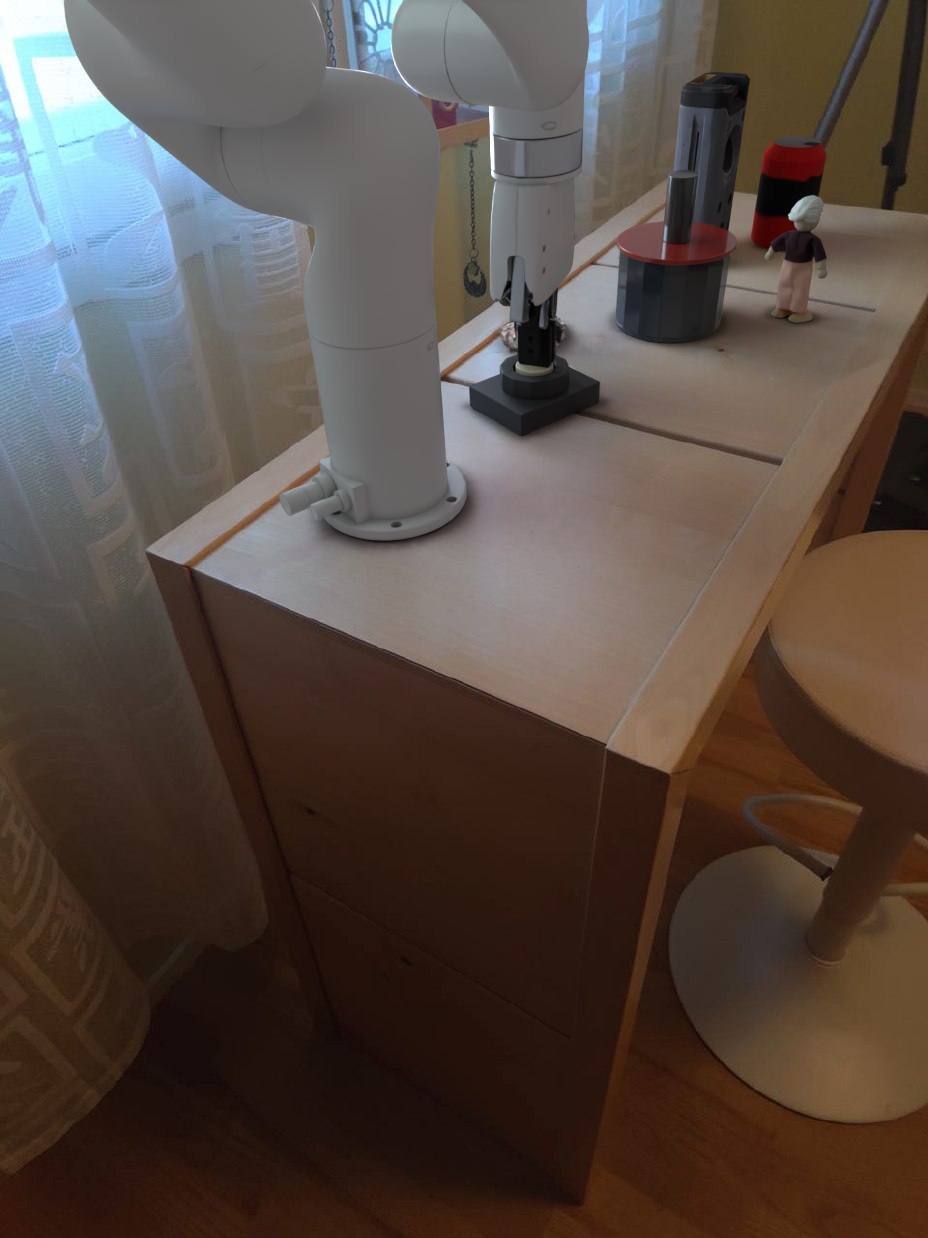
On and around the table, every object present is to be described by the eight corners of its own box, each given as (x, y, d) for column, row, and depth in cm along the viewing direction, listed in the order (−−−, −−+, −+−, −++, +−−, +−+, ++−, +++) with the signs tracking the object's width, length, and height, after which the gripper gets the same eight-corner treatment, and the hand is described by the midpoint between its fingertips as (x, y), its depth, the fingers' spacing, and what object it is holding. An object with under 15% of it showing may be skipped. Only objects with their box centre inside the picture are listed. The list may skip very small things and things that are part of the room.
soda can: (791, 254, 115) (811, 152, 107) (739, 242, 119) (754, 144, 111) (819, 238, 119) (840, 138, 111) (768, 227, 123) (784, 131, 115)
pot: (669, 352, 95) (678, 272, 89) (594, 320, 102) (598, 244, 96) (741, 321, 100) (753, 244, 94) (664, 293, 107) (672, 219, 101)
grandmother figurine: (827, 316, 100) (853, 196, 91) (812, 328, 98) (838, 206, 89) (763, 301, 104) (783, 185, 95) (747, 312, 101) (767, 194, 93)
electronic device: (704, 270, 112) (728, 89, 99) (660, 263, 114) (677, 86, 101) (729, 247, 118) (754, 73, 105) (686, 241, 120) (706, 70, 107)
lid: (678, 280, 89) (687, 200, 84) (592, 249, 97) (595, 174, 92) (760, 249, 94) (773, 172, 89) (672, 223, 102) (679, 150, 97)
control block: (521, 436, 83) (520, 397, 80) (469, 406, 88) (467, 368, 85) (599, 402, 87) (601, 364, 85) (546, 375, 92) (546, 338, 90)
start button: (532, 392, 84) (532, 375, 83) (508, 380, 86) (508, 363, 85) (560, 381, 86) (561, 364, 84) (536, 368, 88) (536, 352, 87)
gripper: (524, 127, 79) (526, 326, 91) (458, 176, 69) (470, 392, 81) (606, 131, 77) (597, 335, 89) (550, 182, 67) (548, 404, 79)
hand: (536, 362), depth 85 cm, fingers closed
